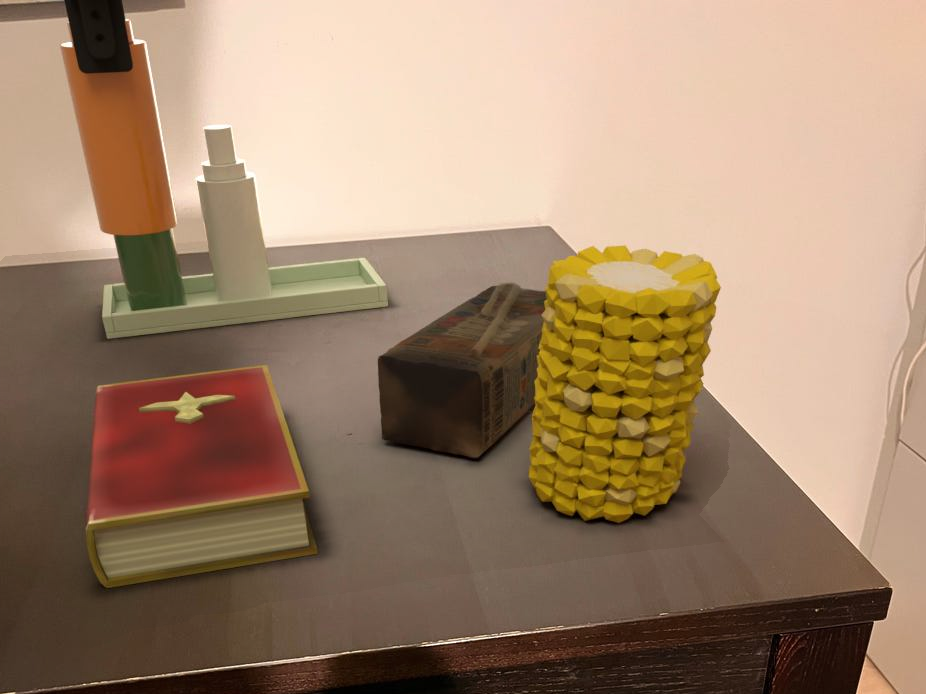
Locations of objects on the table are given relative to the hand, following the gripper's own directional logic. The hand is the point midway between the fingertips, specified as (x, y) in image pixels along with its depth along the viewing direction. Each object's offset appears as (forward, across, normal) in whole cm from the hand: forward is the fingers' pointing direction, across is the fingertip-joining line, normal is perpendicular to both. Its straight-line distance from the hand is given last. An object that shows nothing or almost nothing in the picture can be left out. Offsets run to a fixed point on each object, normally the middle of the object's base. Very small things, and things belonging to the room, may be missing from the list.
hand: (106, 63), depth 64 cm
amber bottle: (+10, 0, 0) cm, 10 cm away
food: (+22, +26, +26) cm, 43 cm away
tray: (+23, -22, +8) cm, 33 cm away
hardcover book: (+23, +17, +1) cm, 28 cm away
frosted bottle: (+22, -22, +8) cm, 32 cm away
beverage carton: (+22, +9, +22) cm, 33 cm away
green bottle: (+22, -22, 0) cm, 32 cm away
